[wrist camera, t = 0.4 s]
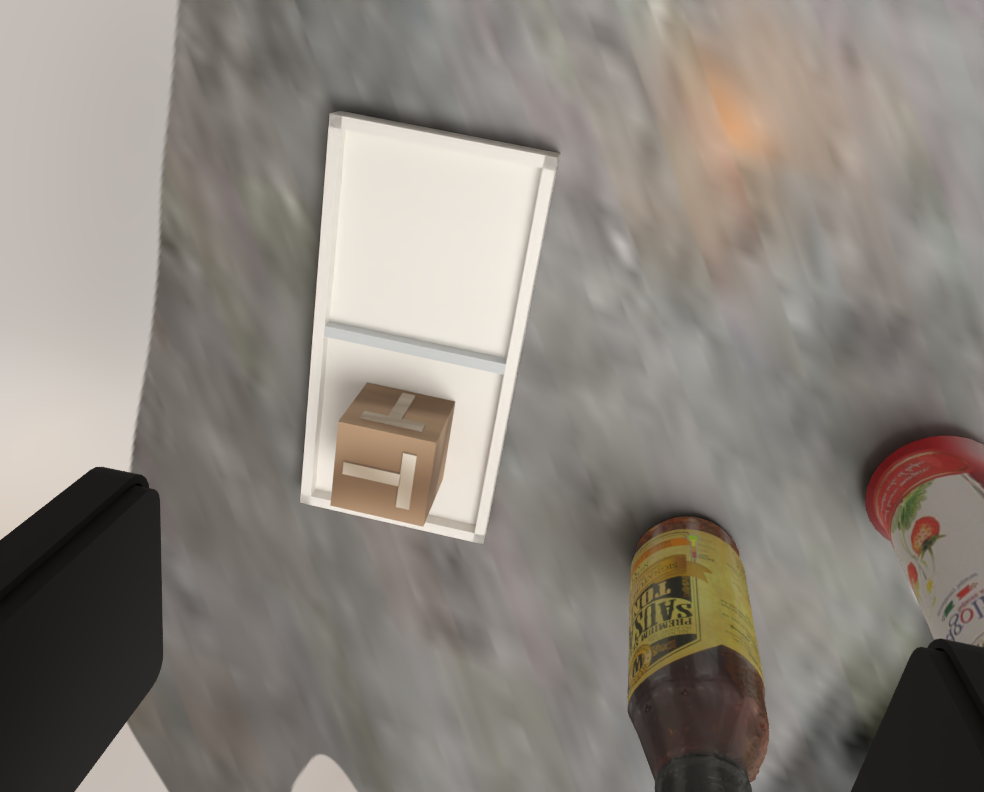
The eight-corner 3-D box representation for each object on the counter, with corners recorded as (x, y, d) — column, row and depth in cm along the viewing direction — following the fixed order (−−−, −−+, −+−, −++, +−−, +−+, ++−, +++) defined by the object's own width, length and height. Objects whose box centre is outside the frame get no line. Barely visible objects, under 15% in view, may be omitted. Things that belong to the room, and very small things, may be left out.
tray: (340, 110, 40) (329, 113, 39) (560, 153, 40) (557, 157, 38) (309, 488, 50) (300, 502, 48) (487, 528, 49) (483, 544, 47)
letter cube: (367, 380, 45) (337, 420, 41) (455, 399, 45) (436, 441, 40) (358, 460, 47) (329, 506, 43) (442, 479, 47) (422, 528, 42)
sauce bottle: (667, 491, 46) (693, 785, 28) (762, 543, 46) (848, 865, 29) (607, 572, 49) (595, 887, 31) (697, 620, 49) (737, 958, 31)
